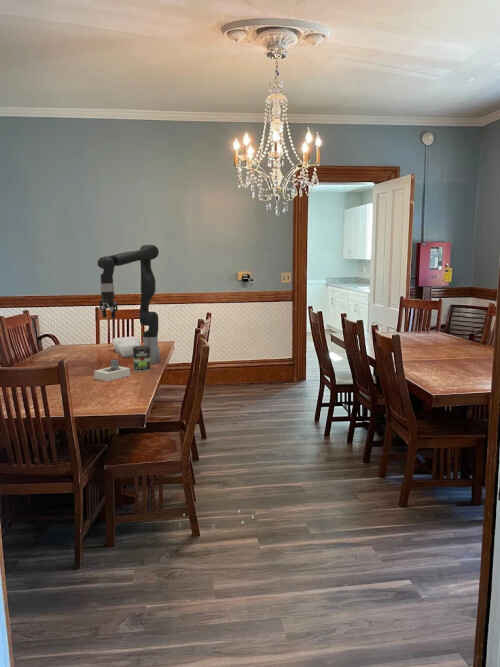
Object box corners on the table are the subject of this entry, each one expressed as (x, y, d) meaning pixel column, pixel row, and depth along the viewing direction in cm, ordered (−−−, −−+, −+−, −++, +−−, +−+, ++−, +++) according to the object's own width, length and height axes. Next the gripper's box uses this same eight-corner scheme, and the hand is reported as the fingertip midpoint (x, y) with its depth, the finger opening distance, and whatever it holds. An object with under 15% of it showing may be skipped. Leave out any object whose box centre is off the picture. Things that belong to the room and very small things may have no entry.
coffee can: (151, 371, 308) (150, 348, 306) (134, 372, 306) (132, 349, 303) (150, 367, 318) (149, 345, 316) (133, 368, 315) (132, 346, 313)
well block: (117, 373, 305) (116, 365, 304) (130, 375, 297) (129, 368, 297) (94, 378, 292) (93, 370, 292) (107, 381, 285) (106, 373, 284)
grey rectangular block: (115, 374, 299) (114, 359, 297) (119, 375, 296) (118, 360, 295) (105, 376, 294) (104, 361, 292) (109, 377, 291) (108, 362, 290)
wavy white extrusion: (143, 357, 349) (142, 342, 347) (118, 359, 343) (118, 344, 341) (134, 348, 381) (133, 334, 379) (111, 350, 375) (110, 336, 373)
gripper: (120, 290, 303) (121, 318, 306) (105, 289, 312) (106, 316, 314) (109, 291, 297) (111, 319, 300) (94, 290, 306) (96, 317, 309)
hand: (109, 317), depth 307 cm, fingers open, 8 cm apart
